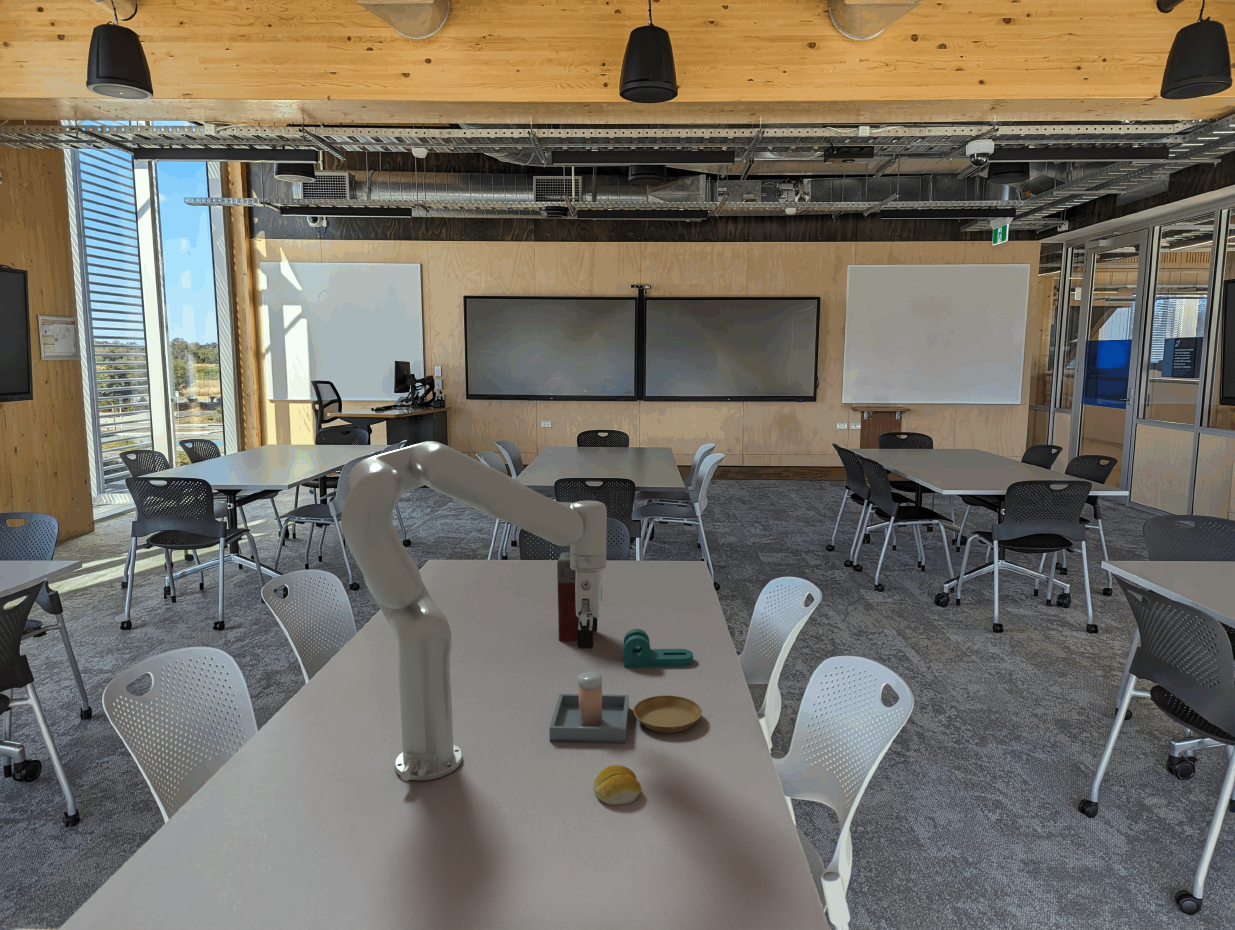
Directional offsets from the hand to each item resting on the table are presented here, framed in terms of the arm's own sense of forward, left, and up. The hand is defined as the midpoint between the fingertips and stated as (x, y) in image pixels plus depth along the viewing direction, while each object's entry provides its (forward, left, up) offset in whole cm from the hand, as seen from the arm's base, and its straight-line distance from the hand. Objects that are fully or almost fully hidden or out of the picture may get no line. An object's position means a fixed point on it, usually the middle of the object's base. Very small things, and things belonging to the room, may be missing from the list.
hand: (587, 639), depth 153 cm
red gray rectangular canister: (+52, +8, -19) cm, 56 cm away
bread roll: (-25, -8, -19) cm, 32 cm away
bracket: (+34, -15, -19) cm, 42 cm away
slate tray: (0, 0, -19) cm, 19 cm away
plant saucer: (+2, -17, -20) cm, 26 cm away
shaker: (0, 0, -18) cm, 18 cm away
